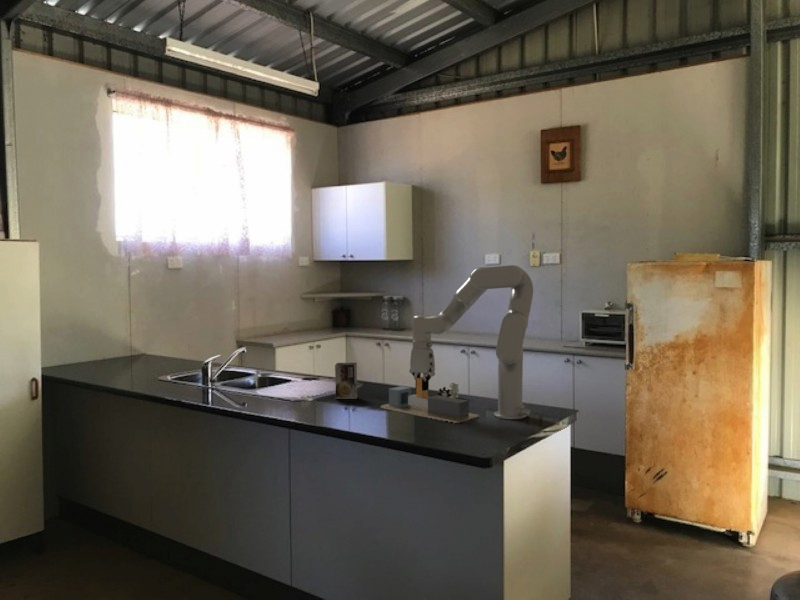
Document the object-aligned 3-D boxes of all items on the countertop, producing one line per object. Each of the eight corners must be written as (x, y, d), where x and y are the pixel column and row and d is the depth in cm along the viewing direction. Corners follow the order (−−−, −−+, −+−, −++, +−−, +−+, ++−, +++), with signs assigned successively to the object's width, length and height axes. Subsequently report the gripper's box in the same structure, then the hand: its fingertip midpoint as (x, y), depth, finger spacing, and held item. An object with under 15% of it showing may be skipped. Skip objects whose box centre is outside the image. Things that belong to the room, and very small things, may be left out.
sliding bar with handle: (457, 411, 254) (457, 382, 254) (451, 413, 252) (451, 383, 251) (414, 403, 270) (414, 375, 270) (408, 405, 267) (408, 376, 267)
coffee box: (357, 397, 294) (357, 362, 293) (355, 400, 287) (354, 364, 286) (338, 397, 294) (337, 362, 294) (335, 400, 288) (334, 364, 287)
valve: (449, 396, 294) (437, 401, 284) (449, 382, 294) (437, 386, 284) (462, 398, 291) (450, 402, 281) (462, 383, 291) (450, 388, 280)
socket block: (411, 403, 274) (411, 387, 274) (398, 407, 269) (398, 390, 268) (401, 402, 278) (401, 386, 278) (389, 405, 272) (388, 388, 272)
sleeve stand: (478, 417, 254) (478, 399, 253) (456, 423, 243) (456, 405, 243) (403, 402, 282) (403, 386, 281) (380, 407, 272) (380, 391, 271)
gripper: (443, 346, 260) (443, 390, 261) (413, 342, 272) (413, 385, 273) (431, 347, 255) (431, 393, 256) (401, 344, 266) (401, 388, 267)
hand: (422, 389), depth 264 cm, fingers closed on sliding bar with handle, 3 cm apart
